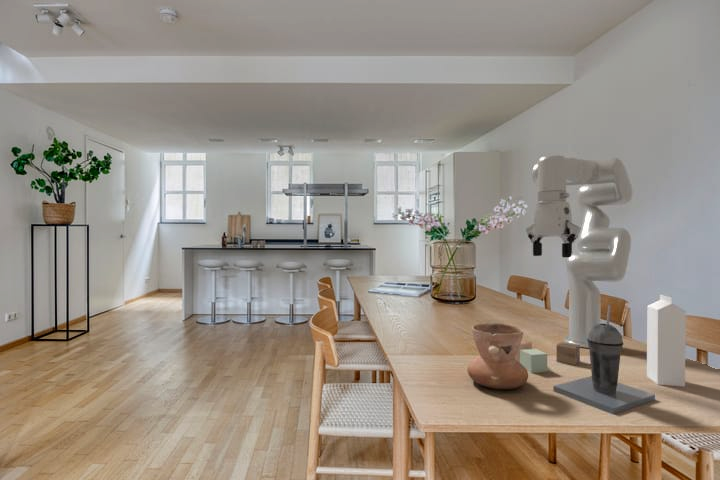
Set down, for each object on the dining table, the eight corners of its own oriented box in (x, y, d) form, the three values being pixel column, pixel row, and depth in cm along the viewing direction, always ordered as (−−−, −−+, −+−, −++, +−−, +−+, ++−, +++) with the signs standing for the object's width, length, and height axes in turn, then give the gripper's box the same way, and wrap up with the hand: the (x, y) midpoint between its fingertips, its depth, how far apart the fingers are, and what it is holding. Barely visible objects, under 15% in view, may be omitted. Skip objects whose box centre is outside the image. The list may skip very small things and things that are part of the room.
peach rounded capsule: (519, 358, 121) (519, 338, 121) (536, 363, 116) (536, 343, 116) (505, 360, 119) (505, 340, 118) (522, 366, 113) (522, 345, 113)
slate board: (594, 379, 103) (594, 375, 103) (655, 399, 90) (655, 394, 90) (553, 390, 95) (553, 385, 95) (613, 414, 83) (613, 408, 83)
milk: (657, 385, 99) (657, 297, 99) (646, 376, 105) (646, 293, 105) (685, 387, 98) (686, 297, 98) (673, 378, 104) (673, 294, 104)
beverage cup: (579, 385, 96) (580, 302, 95) (607, 384, 96) (608, 302, 96) (600, 397, 88) (601, 308, 88) (631, 396, 89) (631, 307, 89)
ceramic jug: (526, 401, 89) (526, 338, 89) (461, 390, 95) (461, 332, 95) (529, 376, 106) (529, 322, 106) (473, 368, 112) (473, 318, 112)
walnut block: (561, 358, 121) (561, 341, 121) (579, 361, 118) (579, 344, 118) (556, 362, 118) (556, 345, 118) (575, 365, 114) (575, 348, 114)
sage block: (535, 366, 114) (535, 348, 114) (547, 371, 109) (547, 353, 109) (519, 367, 113) (520, 349, 113) (531, 373, 108) (531, 354, 108)
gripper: (588, 196, 111) (587, 257, 111) (535, 201, 126) (535, 255, 126) (570, 195, 107) (570, 258, 108) (518, 200, 123) (518, 255, 123)
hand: (551, 256), depth 117 cm, fingers open, 9 cm apart
